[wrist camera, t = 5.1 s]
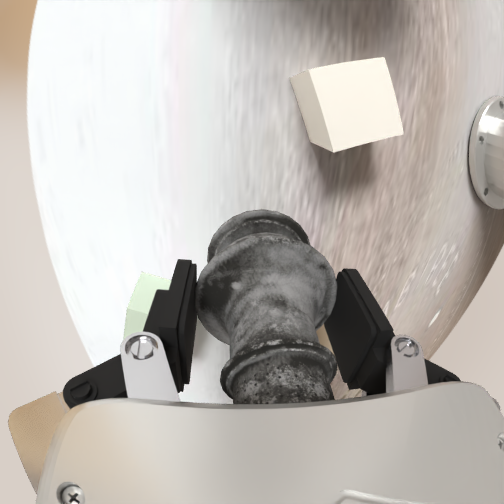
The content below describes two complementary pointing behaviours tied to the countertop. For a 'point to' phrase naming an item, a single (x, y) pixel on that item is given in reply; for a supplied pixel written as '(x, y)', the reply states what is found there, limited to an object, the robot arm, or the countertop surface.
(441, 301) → the countertop surface
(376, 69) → the cream painted cube
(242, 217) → the salt shaker
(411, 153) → the countertop surface
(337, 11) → the countertop surface
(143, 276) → the sage painted cube
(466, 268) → the countertop surface
